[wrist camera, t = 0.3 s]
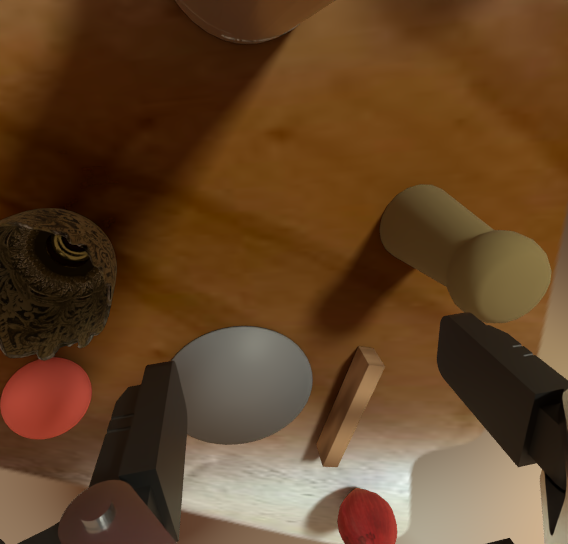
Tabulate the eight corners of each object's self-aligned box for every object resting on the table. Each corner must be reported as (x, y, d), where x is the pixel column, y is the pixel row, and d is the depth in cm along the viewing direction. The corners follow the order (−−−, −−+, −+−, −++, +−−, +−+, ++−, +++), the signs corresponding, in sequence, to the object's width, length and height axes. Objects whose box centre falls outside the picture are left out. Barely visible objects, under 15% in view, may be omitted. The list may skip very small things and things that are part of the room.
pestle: (395, 176, 28) (497, 227, 18) (466, 192, 29) (595, 247, 20) (369, 253, 30) (446, 335, 20) (435, 264, 32) (537, 345, 22)
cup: (107, 169, 24) (65, 205, 17) (153, 271, 28) (133, 335, 21) (-12, 202, 24) (-105, 253, 17) (49, 301, 27) (-7, 377, 20)
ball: (7, 351, 28) (-34, 407, 23) (84, 334, 29) (58, 385, 24) (40, 405, 31) (8, 466, 26) (110, 389, 31) (92, 445, 26)
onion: (326, 510, 43) (349, 593, 36) (332, 475, 41) (358, 557, 34) (375, 503, 44) (407, 582, 37) (383, 469, 42) (419, 547, 35)
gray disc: (139, 347, 30) (139, 348, 30) (301, 310, 31) (302, 311, 31) (184, 457, 36) (184, 459, 36) (319, 423, 37) (319, 424, 37)
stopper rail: (330, 445, 39) (337, 467, 37) (316, 444, 38) (322, 466, 36) (373, 348, 34) (385, 366, 32) (358, 346, 34) (369, 364, 32)
